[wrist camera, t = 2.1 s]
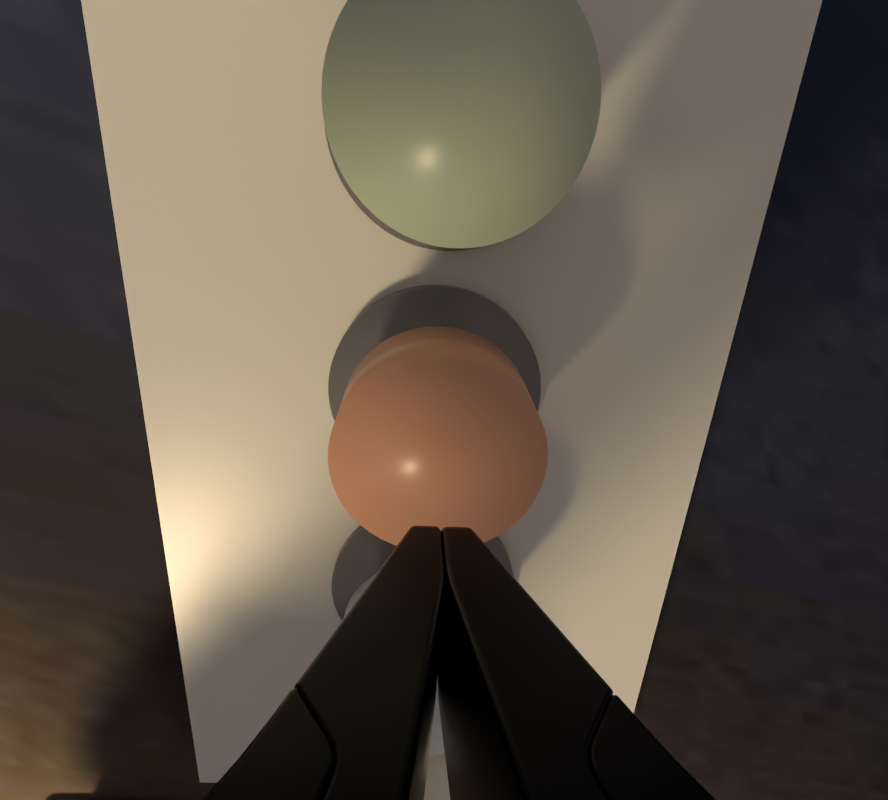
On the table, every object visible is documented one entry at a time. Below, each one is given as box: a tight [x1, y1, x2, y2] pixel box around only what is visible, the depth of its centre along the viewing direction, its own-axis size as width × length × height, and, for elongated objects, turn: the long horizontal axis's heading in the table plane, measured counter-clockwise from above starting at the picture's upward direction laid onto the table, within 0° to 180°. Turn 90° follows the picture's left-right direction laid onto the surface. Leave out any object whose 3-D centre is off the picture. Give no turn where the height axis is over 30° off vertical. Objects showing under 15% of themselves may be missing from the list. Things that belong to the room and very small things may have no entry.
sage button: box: [321, 0, 601, 248], centre depth 9 cm, size 4×4×2 cm
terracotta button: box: [328, 326, 548, 546], centre depth 11 cm, size 4×4×2 cm
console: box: [81, 0, 822, 783], centre depth 16 cm, size 23×14×2 cm, turn 176°
